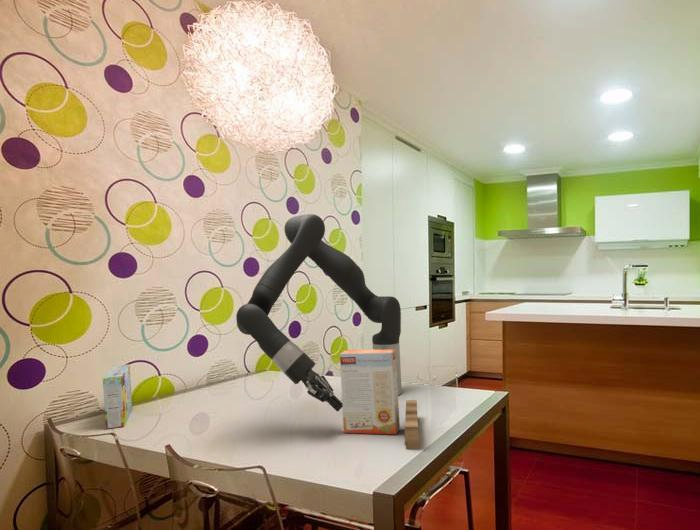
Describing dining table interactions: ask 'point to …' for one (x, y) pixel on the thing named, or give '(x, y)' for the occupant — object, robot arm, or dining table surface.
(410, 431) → the notched wooden bar
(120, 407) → the snack box
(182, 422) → the dining table surface
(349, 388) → the cracker box
